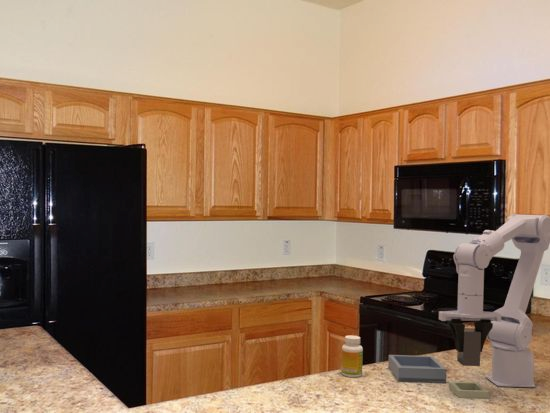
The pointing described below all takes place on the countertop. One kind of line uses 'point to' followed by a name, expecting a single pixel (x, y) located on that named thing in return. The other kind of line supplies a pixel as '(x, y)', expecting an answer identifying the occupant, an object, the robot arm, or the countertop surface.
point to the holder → (473, 391)
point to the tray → (417, 369)
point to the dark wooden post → (470, 348)
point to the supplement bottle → (352, 357)
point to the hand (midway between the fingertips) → (468, 351)
